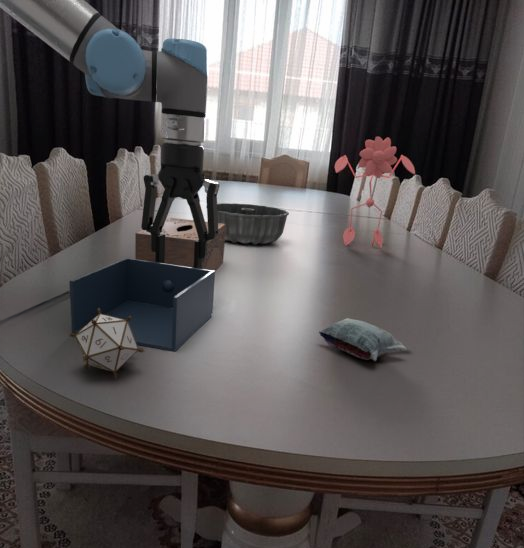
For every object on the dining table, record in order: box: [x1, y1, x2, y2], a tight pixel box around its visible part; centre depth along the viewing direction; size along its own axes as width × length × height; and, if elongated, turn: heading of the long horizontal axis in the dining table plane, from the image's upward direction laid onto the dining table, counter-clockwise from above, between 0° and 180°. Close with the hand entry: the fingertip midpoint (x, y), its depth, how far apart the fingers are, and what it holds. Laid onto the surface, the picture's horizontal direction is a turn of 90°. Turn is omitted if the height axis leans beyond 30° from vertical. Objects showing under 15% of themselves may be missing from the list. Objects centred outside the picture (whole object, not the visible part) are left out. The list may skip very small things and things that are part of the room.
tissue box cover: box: [134, 217, 226, 272], centre depth 123 cm, size 26×14×10 cm, turn 173°
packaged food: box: [318, 317, 407, 362], centre depth 84 cm, size 9×12×5 cm
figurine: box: [334, 136, 416, 254], centre depth 168 cm, size 15×26×35 cm, turn 94°
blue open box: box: [68, 257, 216, 352], centre depth 92 cm, size 30×17×8 cm, turn 168°
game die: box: [68, 308, 145, 379], centre depth 69 cm, size 9×8×10 cm
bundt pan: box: [205, 202, 290, 246], centre depth 167 cm, size 26×26×10 cm
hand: (178, 271), depth 99 cm, fingers open, 7 cm apart
